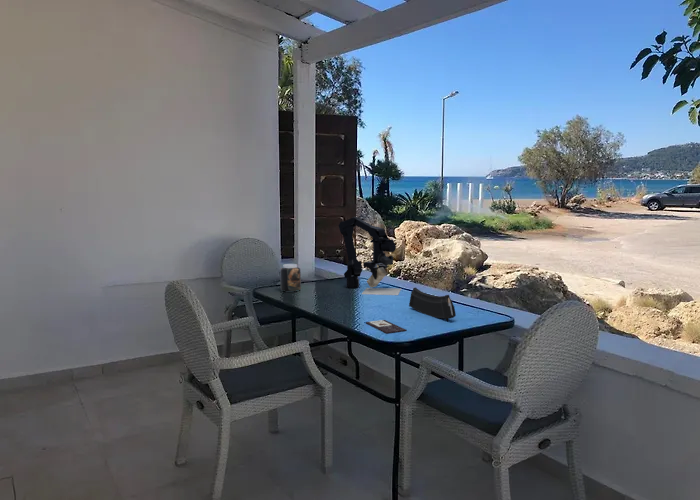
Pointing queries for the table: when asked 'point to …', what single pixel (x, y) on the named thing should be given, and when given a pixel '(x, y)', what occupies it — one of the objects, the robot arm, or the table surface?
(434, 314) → the magazine
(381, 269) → the birch block
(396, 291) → the rubber mat
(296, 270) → the jar
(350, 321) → the table surface
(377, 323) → the chocolate bar
